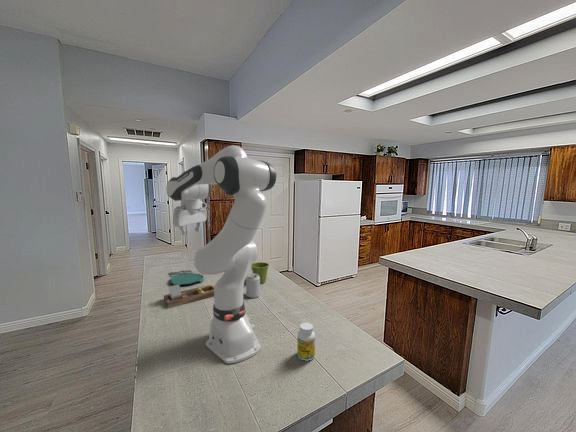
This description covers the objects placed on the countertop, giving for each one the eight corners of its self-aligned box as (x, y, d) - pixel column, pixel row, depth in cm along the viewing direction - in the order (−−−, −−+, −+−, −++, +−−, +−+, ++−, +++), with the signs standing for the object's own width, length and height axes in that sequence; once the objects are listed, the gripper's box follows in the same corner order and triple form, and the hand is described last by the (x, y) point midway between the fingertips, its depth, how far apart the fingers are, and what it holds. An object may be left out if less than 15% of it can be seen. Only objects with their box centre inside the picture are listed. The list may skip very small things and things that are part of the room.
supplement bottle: (316, 352, 90) (317, 323, 89) (312, 363, 84) (312, 332, 83) (300, 348, 92) (300, 319, 91) (294, 358, 86) (295, 328, 85)
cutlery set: (172, 290, 142) (172, 286, 142) (165, 275, 167) (165, 272, 167) (207, 283, 153) (207, 279, 153) (195, 270, 178) (195, 267, 178)
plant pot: (270, 279, 161) (270, 262, 160) (267, 286, 149) (267, 268, 148) (253, 278, 162) (252, 261, 161) (248, 285, 150) (248, 267, 149)
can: (257, 299, 131) (257, 277, 130) (244, 297, 133) (244, 276, 132) (261, 293, 139) (261, 273, 137) (249, 292, 140) (249, 272, 139)
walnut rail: (219, 295, 136) (219, 290, 136) (168, 308, 121) (168, 302, 120) (212, 288, 145) (212, 283, 145) (163, 299, 129) (163, 294, 129)
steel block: (181, 302, 127) (180, 287, 126) (171, 304, 125) (170, 289, 124) (179, 298, 131) (178, 284, 130) (169, 301, 128) (169, 286, 127)
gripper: (180, 207, 108) (180, 237, 110) (208, 203, 127) (209, 229, 129) (168, 206, 110) (169, 236, 112) (198, 203, 129) (199, 228, 131)
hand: (191, 232), depth 121 cm, fingers open, 8 cm apart
